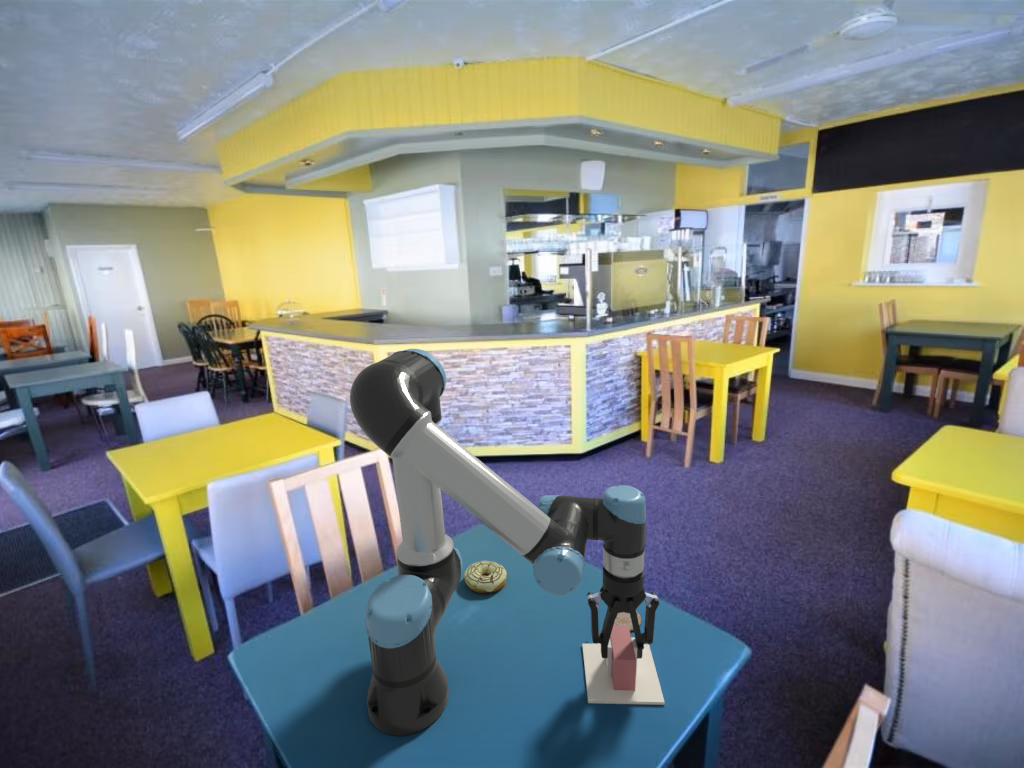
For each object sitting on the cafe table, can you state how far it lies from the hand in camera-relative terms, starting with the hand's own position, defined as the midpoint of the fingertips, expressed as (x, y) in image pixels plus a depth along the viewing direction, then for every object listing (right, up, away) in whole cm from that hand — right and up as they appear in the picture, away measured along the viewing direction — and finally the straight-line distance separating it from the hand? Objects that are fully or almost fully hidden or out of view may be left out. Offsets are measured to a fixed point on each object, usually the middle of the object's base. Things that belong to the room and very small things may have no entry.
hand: (620, 669), depth 100 cm
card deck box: (0, 0, 0) cm, 0 cm away
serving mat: (0, -1, 0) cm, 1 cm away
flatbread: (+4, +3, +15) cm, 15 cm away
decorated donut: (-28, +5, +29) cm, 41 cm away
